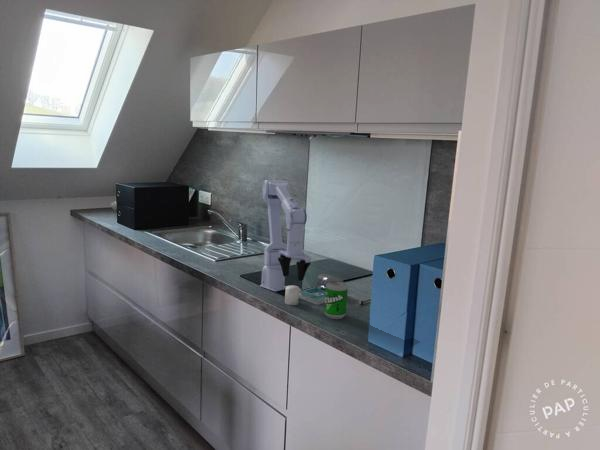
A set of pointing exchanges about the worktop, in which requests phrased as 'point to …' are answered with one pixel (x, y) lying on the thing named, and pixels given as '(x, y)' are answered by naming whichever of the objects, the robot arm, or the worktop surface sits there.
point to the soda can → (335, 299)
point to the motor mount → (317, 290)
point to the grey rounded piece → (292, 295)
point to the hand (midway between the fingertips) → (293, 278)
